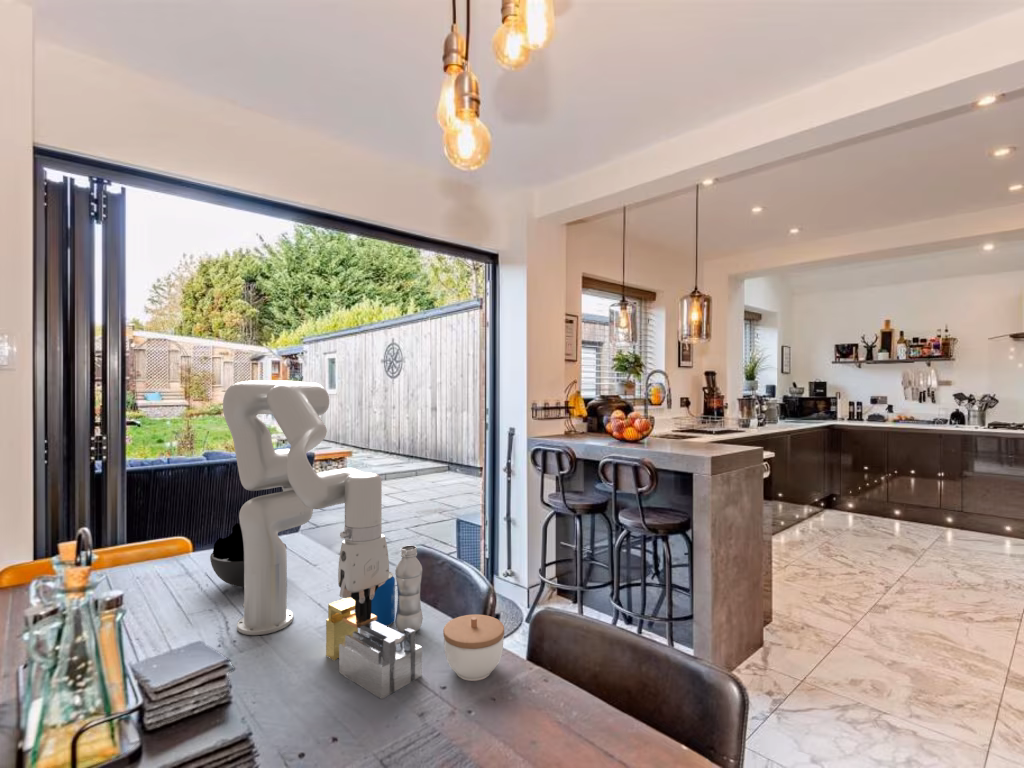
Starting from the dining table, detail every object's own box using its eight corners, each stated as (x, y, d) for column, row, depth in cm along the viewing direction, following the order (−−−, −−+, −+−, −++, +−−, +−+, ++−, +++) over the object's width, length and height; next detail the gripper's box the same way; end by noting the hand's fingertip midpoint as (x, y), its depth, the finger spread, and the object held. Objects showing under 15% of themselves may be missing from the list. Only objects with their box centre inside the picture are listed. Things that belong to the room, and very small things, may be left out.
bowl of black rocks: (210, 604, 140) (210, 534, 140) (209, 579, 158) (209, 516, 157) (291, 589, 150) (291, 524, 150) (282, 567, 168) (282, 508, 167)
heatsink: (339, 672, 108) (339, 624, 108) (379, 653, 116) (379, 608, 116) (381, 699, 99) (381, 646, 99) (421, 675, 107) (422, 627, 107)
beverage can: (387, 631, 126) (388, 581, 126) (363, 628, 127) (363, 579, 127) (398, 619, 132) (399, 571, 132) (375, 616, 134) (375, 569, 133)
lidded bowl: (480, 696, 100) (481, 639, 100) (430, 676, 107) (430, 622, 107) (515, 666, 111) (515, 614, 111) (467, 649, 118) (467, 600, 118)
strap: (410, 638, 105) (410, 631, 105) (390, 648, 101) (390, 641, 101) (362, 615, 115) (362, 609, 115) (342, 624, 111) (342, 617, 111)
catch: (326, 655, 115) (326, 604, 114) (349, 645, 119) (350, 596, 119) (339, 663, 111) (339, 611, 111) (363, 652, 116) (363, 602, 116)
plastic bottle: (427, 626, 128) (427, 545, 128) (413, 639, 122) (413, 553, 122) (404, 622, 131) (404, 542, 130) (389, 634, 124) (389, 550, 124)
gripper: (342, 544, 103) (342, 637, 103) (402, 527, 115) (402, 611, 115) (321, 536, 108) (321, 626, 108) (381, 521, 119) (381, 601, 119)
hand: (363, 618), depth 111 cm, fingers closed
